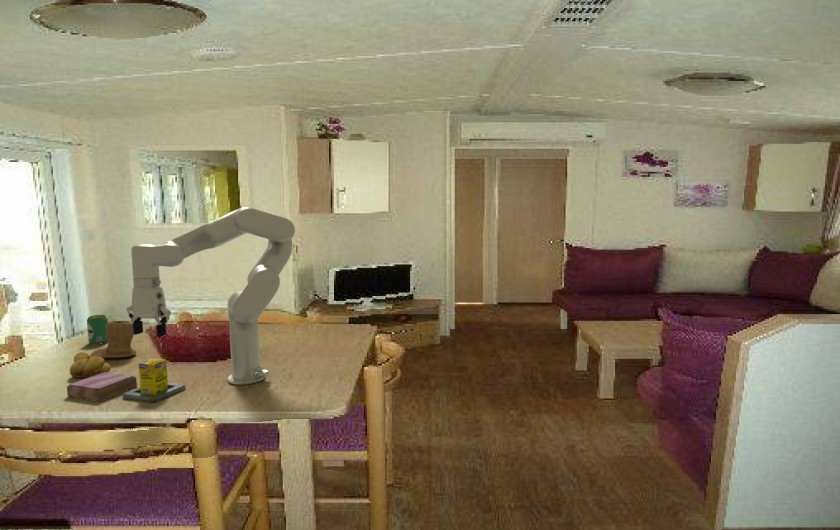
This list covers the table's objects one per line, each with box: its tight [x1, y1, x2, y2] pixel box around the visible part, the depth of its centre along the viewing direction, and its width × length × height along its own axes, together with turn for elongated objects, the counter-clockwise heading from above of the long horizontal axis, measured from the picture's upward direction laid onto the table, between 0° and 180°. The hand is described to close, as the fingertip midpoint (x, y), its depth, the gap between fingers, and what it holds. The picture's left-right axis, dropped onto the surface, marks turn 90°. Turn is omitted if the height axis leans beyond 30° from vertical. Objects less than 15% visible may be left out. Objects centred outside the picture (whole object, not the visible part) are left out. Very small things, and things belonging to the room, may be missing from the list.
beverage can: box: [86, 314, 109, 345], centre depth 234 cm, size 8×8×12 cm
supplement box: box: [138, 358, 168, 395], centre depth 170 cm, size 6×6×11 cm
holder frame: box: [122, 382, 186, 404], centre depth 170 cm, size 13×13×2 cm
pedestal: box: [66, 371, 138, 402], centre depth 172 cm, size 14×14×4 cm
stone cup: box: [89, 320, 138, 359], centre depth 212 cm, size 15×12×15 cm
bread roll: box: [69, 351, 111, 378], centre depth 189 cm, size 13×10×8 cm
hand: (150, 334), depth 168 cm, fingers open, 9 cm apart
